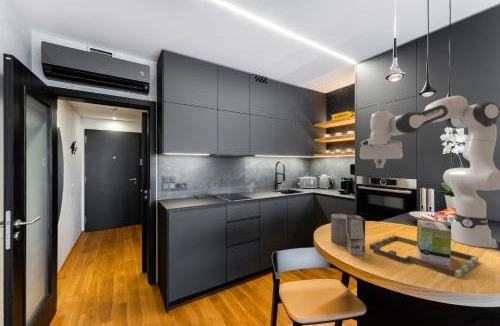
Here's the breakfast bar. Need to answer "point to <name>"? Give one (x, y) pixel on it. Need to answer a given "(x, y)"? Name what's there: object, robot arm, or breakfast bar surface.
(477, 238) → the robot arm
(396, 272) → the breakfast bar surface
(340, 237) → the pillar candle
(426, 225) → the tea box
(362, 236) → the coffee box
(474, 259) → the channel
